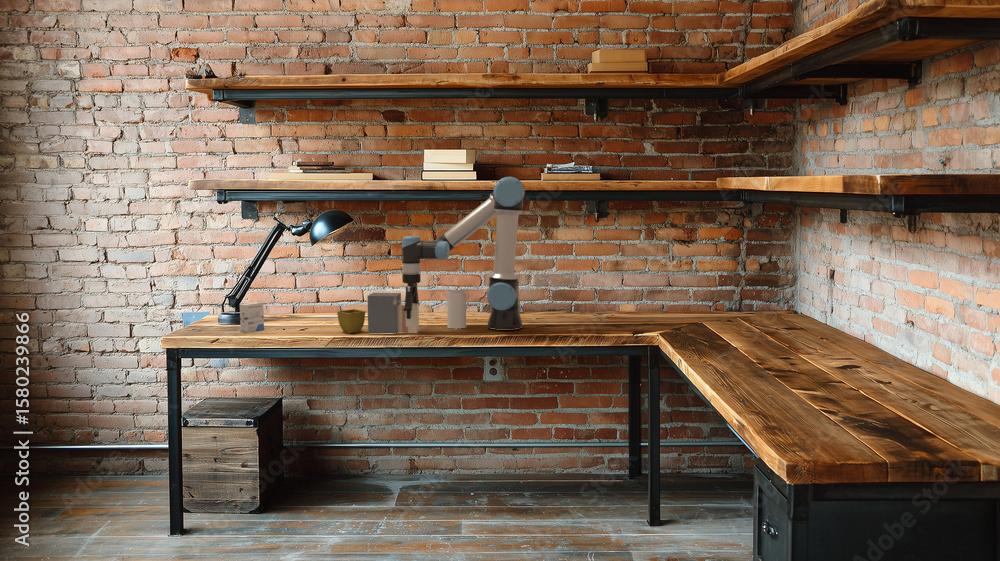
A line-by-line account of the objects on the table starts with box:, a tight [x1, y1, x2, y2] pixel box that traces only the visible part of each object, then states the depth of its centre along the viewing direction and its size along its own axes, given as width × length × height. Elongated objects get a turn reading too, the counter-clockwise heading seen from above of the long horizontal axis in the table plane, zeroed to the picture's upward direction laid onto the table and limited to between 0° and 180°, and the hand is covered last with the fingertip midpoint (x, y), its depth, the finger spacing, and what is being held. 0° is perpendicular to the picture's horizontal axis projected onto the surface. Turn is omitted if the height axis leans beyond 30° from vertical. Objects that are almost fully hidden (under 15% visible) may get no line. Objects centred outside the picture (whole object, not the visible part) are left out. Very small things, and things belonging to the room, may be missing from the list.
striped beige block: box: [397, 302, 420, 334], centre depth 309 cm, size 12×5×12 cm, turn 87°
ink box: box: [239, 301, 265, 333], centre depth 312 cm, size 9×5×12 cm, turn 141°
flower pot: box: [336, 308, 366, 334], centre depth 309 cm, size 9×9×9 cm
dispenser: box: [367, 292, 402, 335], centre depth 309 cm, size 12×10×16 cm
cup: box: [446, 289, 467, 330], centre depth 319 cm, size 8×8×16 cm
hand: (412, 323), depth 309 cm, fingers open, 13 cm apart
